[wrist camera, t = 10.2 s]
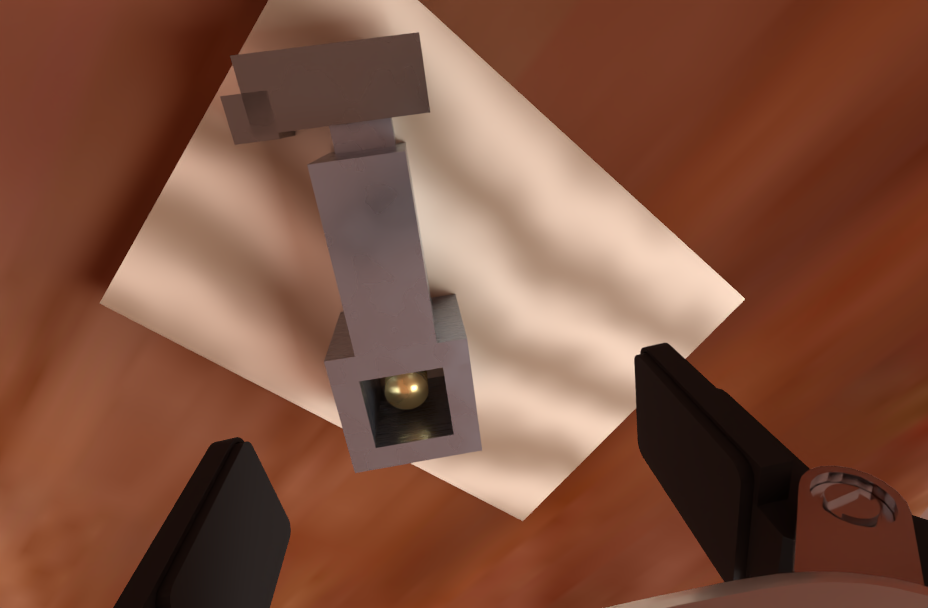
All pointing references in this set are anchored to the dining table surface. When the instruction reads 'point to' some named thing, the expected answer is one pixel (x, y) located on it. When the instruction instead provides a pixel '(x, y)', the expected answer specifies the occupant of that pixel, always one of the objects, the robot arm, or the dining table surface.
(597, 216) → the board
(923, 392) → the dining table surface
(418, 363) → the link
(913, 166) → the dining table surface
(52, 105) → the dining table surface
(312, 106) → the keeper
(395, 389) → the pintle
